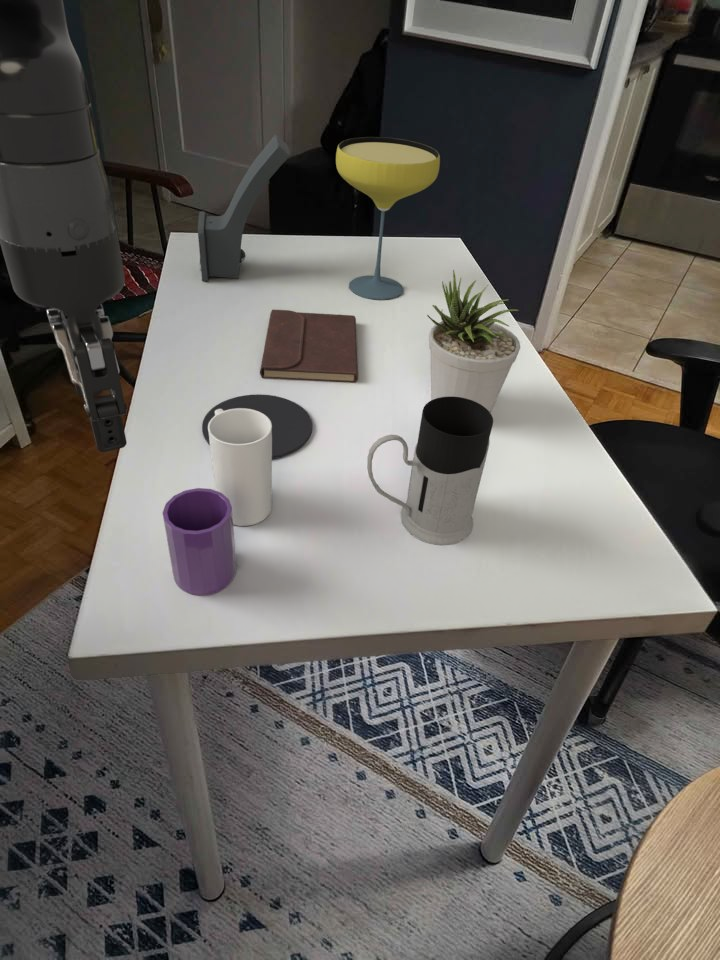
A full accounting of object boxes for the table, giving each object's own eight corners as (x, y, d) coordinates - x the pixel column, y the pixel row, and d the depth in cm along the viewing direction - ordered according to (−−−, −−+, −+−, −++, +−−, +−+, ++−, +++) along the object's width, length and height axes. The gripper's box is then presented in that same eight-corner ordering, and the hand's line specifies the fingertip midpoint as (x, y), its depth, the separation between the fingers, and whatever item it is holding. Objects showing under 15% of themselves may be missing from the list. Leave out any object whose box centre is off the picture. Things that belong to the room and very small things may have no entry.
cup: (179, 602, 65) (168, 540, 60) (169, 557, 70) (158, 495, 64) (242, 586, 68) (238, 525, 62) (228, 544, 72) (223, 483, 66)
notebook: (355, 323, 115) (356, 313, 114) (357, 382, 100) (358, 371, 99) (270, 319, 114) (270, 308, 113) (260, 378, 99) (259, 366, 98)
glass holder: (486, 536, 76) (515, 433, 66) (374, 562, 72) (387, 455, 62) (452, 489, 82) (474, 388, 72) (347, 510, 78) (356, 406, 68)
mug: (284, 515, 76) (283, 433, 68) (232, 536, 73) (225, 452, 65) (244, 468, 82) (240, 388, 75) (195, 485, 79) (185, 403, 71)
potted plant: (475, 378, 104) (502, 255, 91) (517, 427, 94) (554, 297, 81) (403, 386, 100) (420, 260, 87) (438, 438, 90) (463, 304, 77)
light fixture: (290, 283, 126) (291, 147, 111) (199, 282, 123) (187, 143, 108) (287, 261, 134) (287, 131, 119) (201, 260, 132) (189, 127, 116)
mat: (215, 469, 82) (214, 466, 81) (193, 405, 92) (192, 402, 92) (327, 449, 87) (327, 446, 86) (294, 390, 97) (294, 388, 97)
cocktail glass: (341, 264, 135) (349, 132, 119) (427, 277, 133) (446, 144, 117) (320, 299, 121) (325, 155, 105) (414, 314, 119) (434, 170, 103)
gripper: (-15, 194, 47) (40, 385, 57) (8, 269, 38) (68, 481, 48) (93, 187, 50) (127, 369, 60) (139, 254, 41) (169, 456, 51)
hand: (101, 419), depth 54 cm, fingers open, 8 cm apart
